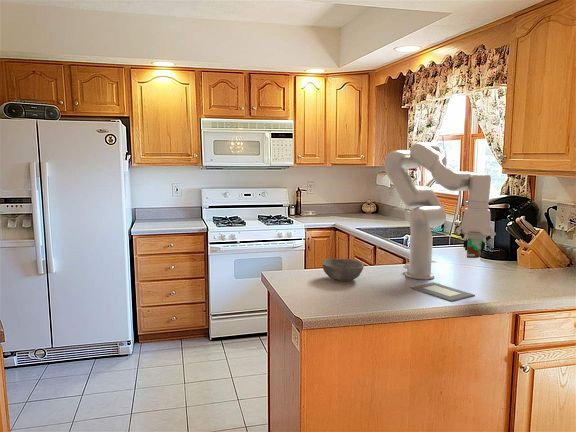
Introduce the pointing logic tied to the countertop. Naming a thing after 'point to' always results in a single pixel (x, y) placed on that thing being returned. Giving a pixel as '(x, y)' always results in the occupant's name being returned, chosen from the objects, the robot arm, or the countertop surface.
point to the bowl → (342, 269)
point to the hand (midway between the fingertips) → (473, 250)
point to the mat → (442, 291)
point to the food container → (474, 245)
